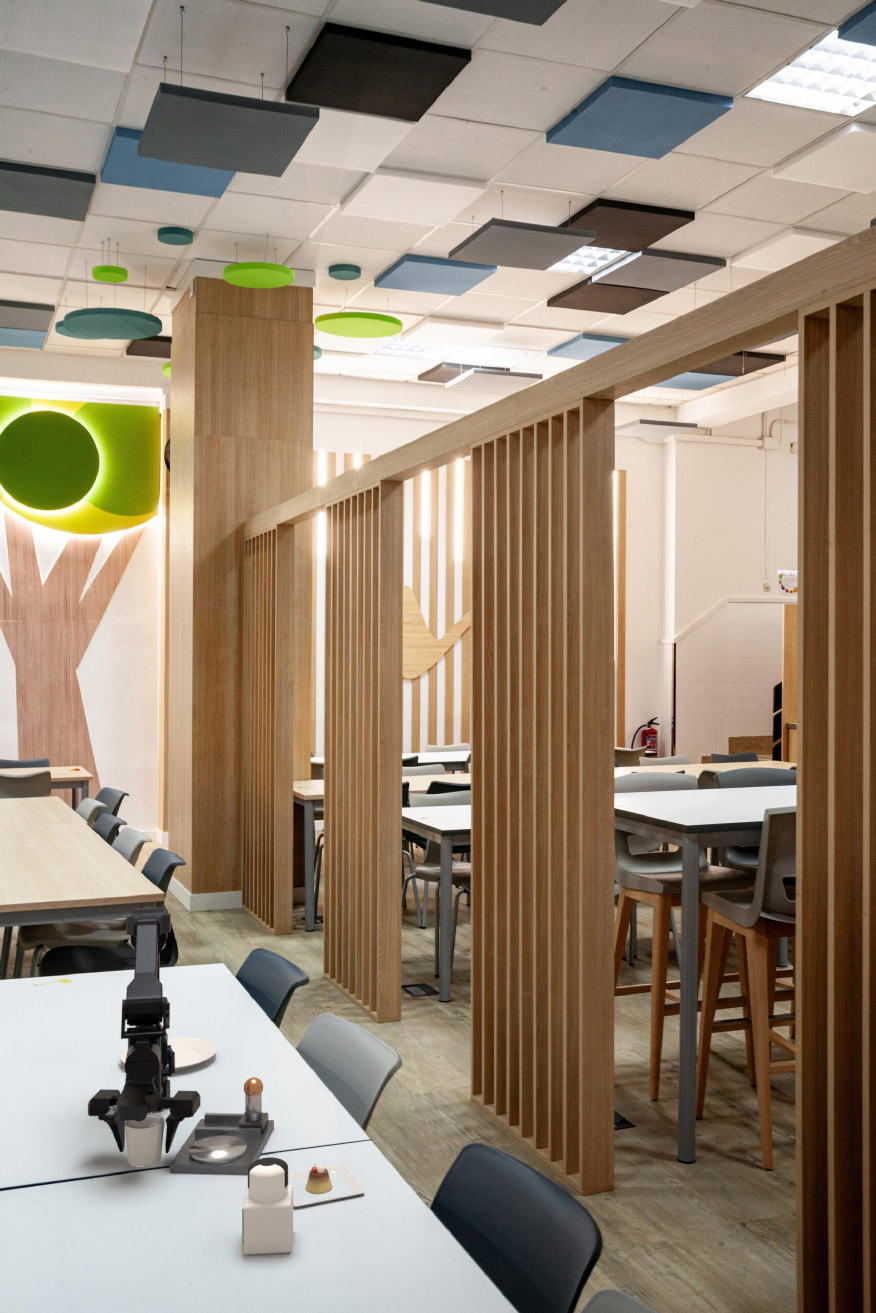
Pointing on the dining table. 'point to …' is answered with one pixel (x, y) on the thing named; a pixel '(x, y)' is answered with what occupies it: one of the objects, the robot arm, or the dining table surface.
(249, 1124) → the press lever
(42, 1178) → the dining table surface
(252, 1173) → the medicine bottle
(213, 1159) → the base
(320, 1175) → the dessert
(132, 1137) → the white cup
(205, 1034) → the dining table surface
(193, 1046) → the plate
